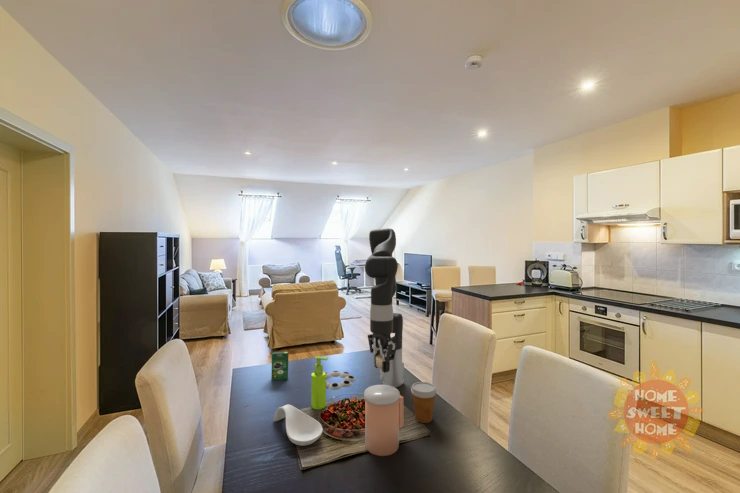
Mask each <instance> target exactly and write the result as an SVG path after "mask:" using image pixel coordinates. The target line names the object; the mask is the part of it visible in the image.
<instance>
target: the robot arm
mask: <svg viewBox="0 0 740 493" xmlns="http://www.w3.org/2000/svg"><path fill="white" fill-rule="evenodd" d="M368 237H369V238H368V239H369V247H370V252H371V255H369V257H367V259H366V261H365V265H364V269H365V270H364V271H365V273H366V275H367V276H368V277H369V278H371V279H374V281H375V282H374V283H375V285H373V286H372V287H371V289H370V312H369V319H370V320H369V324H370V326H369V331H370V332H371V334H368V335H367V340H368V345H369V351H370V354H372V355H373V356H374V357H373V358H374V368H376V369H380V368H379V367H376V355H378V354H382V359H383V361H382V364H383V372H384V379H383V380H382V385H389V386H393V387H395V388H399V387H401V386H402V385H403V384H404V383H405V364H404V362H403V332H404V331H403V330H404V329H403V328H404V318H403V315H402V314H401V313H398V312H394V306H393V298H394V296H395V295H396V292H397V279H396V276H397V273H398V268H399V263H398V261H397V259H396V258H395V257H394V256H393V253H394V251H395V249H396V245H397V238H396V237H397V236H396V232H395V231H394V229H393V228H377V229H372V230H370V231H369V235H368ZM392 334H394V335H393V336H392V337H391V335H392ZM385 355H386V357H385Z"/></svg>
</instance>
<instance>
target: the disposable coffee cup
mask: <svg viewBox="0 0 740 493" xmlns="http://www.w3.org/2000/svg"><path fill="white" fill-rule="evenodd" d="M410 392H411V394H412V403H413V410H414V419H415V421H417V422H419V423H423V424H425V423H426V424H428V423H431V422H432V420H433V416H434V415H433V414H434V405H435V398H436V394H437V389H436V387H435V385H434V384H433V383H430V382H427V381H417V382H414V383H412V385H411V387H410Z"/></svg>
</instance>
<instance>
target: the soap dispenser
mask: <svg viewBox="0 0 740 493" xmlns="http://www.w3.org/2000/svg"><path fill="white" fill-rule="evenodd" d="M314 360H315V361H316V363H315V364H314V371H313V372H311V375H310V376H311V380H310V381H311V383H310V384H311V386H310V387H311V389H310V390H311V393H310V394H311V402H310V403H311V408H312V409H313V410H323V409H324V408H325V407H326V406H327V388H326V373H327V372H325V371H324V370H323V369H324V366H323V363H321V362H322V361H323V360H324V361H328V360H329V357H326V356H323V355H320V356H319V355H318V356H315V357H314ZM322 408H323V409H322Z"/></svg>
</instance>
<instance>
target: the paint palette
mask: <svg viewBox="0 0 740 493" xmlns="http://www.w3.org/2000/svg"><path fill="white" fill-rule="evenodd" d="M325 373H326V389H329V390H331V391H332V390H340V389H342V388H349V387H351V386H352V385H353V382H355V381H356V378H355V377H354V375H352V374H351V373H350V372H348V371H343V372H340V371H339V370H333V371H331V372H325ZM333 377H334V378H337V377H338V378H342V379H343V380H342V381H340V383H339V382H332V383H330V382H329V381H328V379H331V378H333ZM347 382H348V383H347ZM334 385H337V386H334Z"/></svg>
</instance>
